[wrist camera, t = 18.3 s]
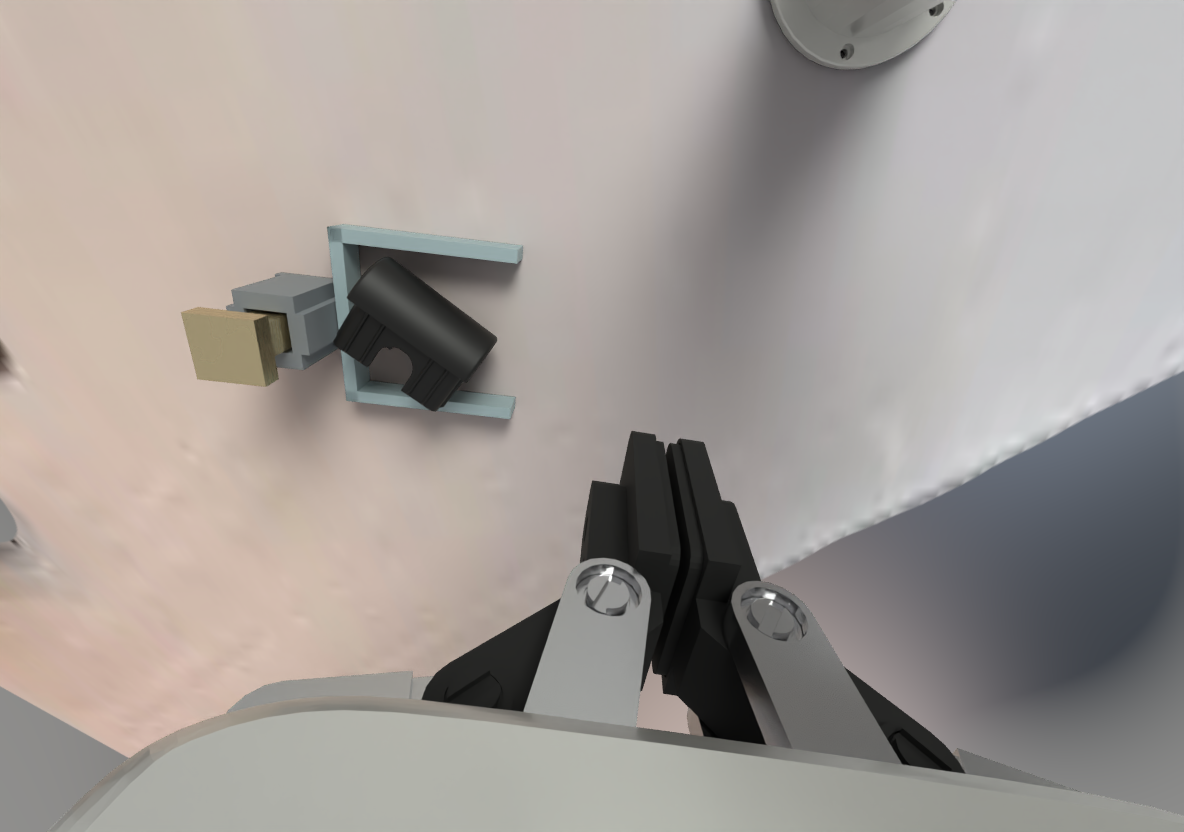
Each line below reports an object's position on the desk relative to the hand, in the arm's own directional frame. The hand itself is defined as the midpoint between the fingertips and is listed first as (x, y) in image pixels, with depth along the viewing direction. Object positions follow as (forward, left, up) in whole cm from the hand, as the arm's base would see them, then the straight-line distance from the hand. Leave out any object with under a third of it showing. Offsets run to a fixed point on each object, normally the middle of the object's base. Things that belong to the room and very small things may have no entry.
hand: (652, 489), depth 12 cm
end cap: (+6, -15, -31) cm, 35 cm away
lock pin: (+6, -25, -30) cm, 39 cm away
